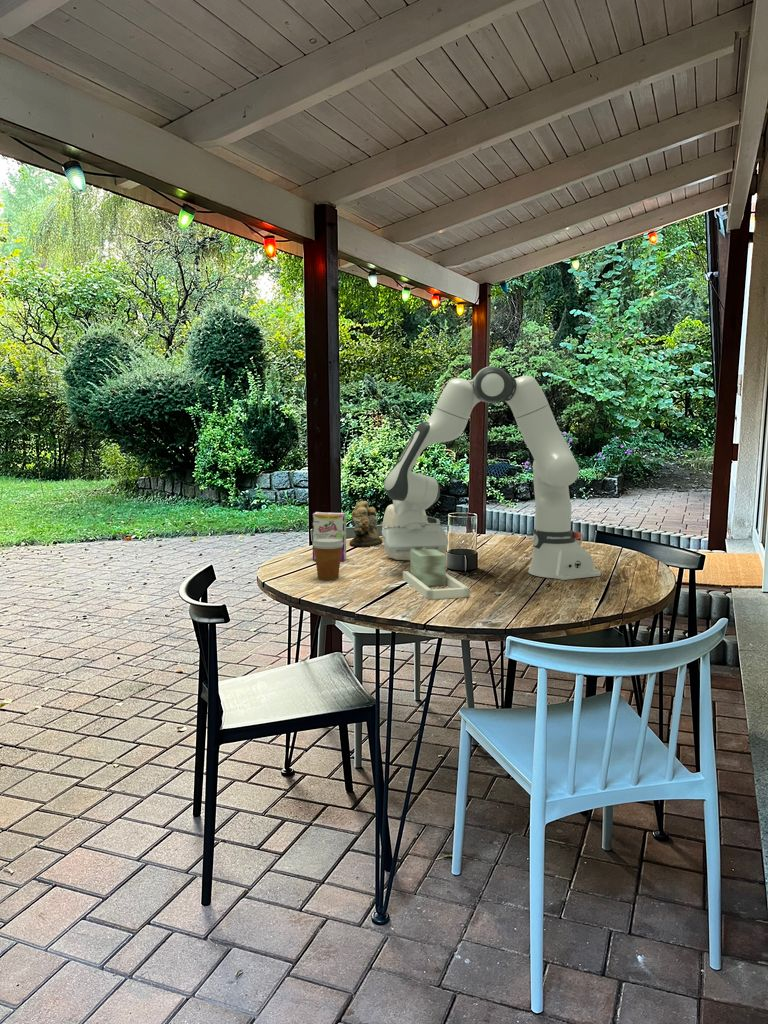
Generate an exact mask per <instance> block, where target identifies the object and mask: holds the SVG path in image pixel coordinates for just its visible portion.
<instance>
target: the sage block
mask: <svg viewBox="0 0 768 1024" xmlns="http://www.w3.org/2000/svg"><path fill="white" fill-rule="evenodd" d="M409 562H410V566H409V567H410V568H409V573H411V574H412V575H413V576H414V577H416V578H417V579H418V580H420V581H421V582H422V583H424V584H425V585H426V586H427V587H436V586H446V585H447V584H446V573H447V554H445V553H443V551H438V550H436V549H424V550H410V560H409Z"/></svg>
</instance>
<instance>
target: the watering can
mask: <svg viewBox="0 0 768 1024" xmlns="http://www.w3.org/2000/svg"><path fill="white" fill-rule="evenodd" d="M423 515H426V516H427V513H426V510H423ZM387 526H389V527H392V526H398V524H397V514H396V513H395V510H394V506H393V503H391V504H389V505H387V507H386V508H385V511H384V515H383V520H382V527H381V528H382V529H383V528H385V527H387ZM385 552H386V551H385ZM386 556H387V558H389V559H392V560H396V561H410V553H409V552H406V553H387V552H386Z"/></svg>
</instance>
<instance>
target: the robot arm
mask: <svg viewBox="0 0 768 1024" xmlns="http://www.w3.org/2000/svg"><path fill="white" fill-rule="evenodd" d="M480 402H484V403H488V404H496V403H503V402H505V403H506V404H508V406H509V408H510V410H511V412H512V414H513V417H514V419H515V422H516V424H517V426H518V429H519V432H520V434H521V437H522V439H523V441H524V444H525V445H526V446H527V448H528V450H529V452H530V454H531V456H532V458H533V463H532V475H533V490H534V491H533V492H534V502H535V507H534V508H535V511H534V512H535V513H534V514H535V515H534V528H533V533H532V547H533V549H532V555H531V561H530V565H529V568H528V571H527V573H528V574H530V575H532V576H536V577H540V578H546V579H547V578H548V579H555V580H556V579H557V580H562V581H565V580H567V581H568V580H575V579H585V578H590V577H591V578H592V577H600V576H601V573H602V572H601V571H600V570H599V569H597V568H595V566H594V559H593V556H592V554H591V553H590V552H589V551H587V550H586V549H585V548H584V547H582V545H580V544H579V543H578V542H576V539H577V540H579V539H581V538H582V537H583V534H582V532H580V531H574V530H572V529H571V528H572V527H571V526H572V507H573V505H572V503H571V502H572V501H571V498H570V489H569V486H571V485H572V484H573V483H575V482H576V480H577V479H578V477H579V473H580V466H579V464H578V461H577V460H576V459H575V457H574V455H573V452H572V450H571V449H570V446H569V445H568V443H567V441H566V439H565V437H564V435H563V434H562V432H561V430H560V428H559V426H558V424H557V421H556V419H555V415H554V414H553V411H552V409H551V407H550V406H551V405H550V404H549V402H548V398H547V397H546V395H545V393H544V391H543V389H542V387H541V386H540V384H539V382H538V381H537V380H536V378H535V377H533V376H531V375H522V376H517V377H516V378H514V377H513V376H512V375H511V374H509V373H508V372H507V371H506V370H504V369H502V368H500V367H497V366H495V365H494V366H493V365H492V366H491V365H489V366H486V367H484V368H482V369H480V370H479V371H478V372H477V373H476V375H474V376H473V377H472V378H471V379H469V380H468V379H465V378H460V377H459V378H457V377H456V378H452V379H450V380H449V381H448V382H447V384H446V385H445V386H444V388H443V390H442V392H441V394H440V396H439V397H438V400H437V403H436V405H435V408H434V410H433V411H432V413H431V415H430V416H429V417H428V418H427V419H426V420H425V421H423V422H421V423H419V424H418V425H417V427H416V428H415V429H414V431H413V433H412V435H411V436H410V438H409V439H408V441H407V443H406V445H405V447H404V448H403V450H402V452H401V454H400V455H399V457H398V459H397V461H396V462H395V464H394V466H393V467H392V469H390V470H389V472H388V473H387V475H386V477H385V479H384V483H383V487H384V491H385V493H386V495H387V496H388V498H389V499H390V500H392V504H393V506H394V510H395V513H396V514H397V524H398V526H392V527H389V526H387V527H385V528H383V529H382V530H381V536H382V538H383V542H384V543H383V544H384V545H383V547H384V551H385V552H387V553H406V552H409V553H410V550H424V549H436V550H438V551H440V552H444V551H446V550H447V548H448V545H449V541H448V537H447V533H446V531H445V530H444V528H443V527H442V526H441V525H440V524H441V520H440V519H439V518H436V517H433V516H428V515H427V514H426V515H423V510H425V511H426V510H428V509H429V508H431V507H432V506H433V505H434V504H435V503H437V501H438V500H439V499H440V495H441V487H440V484H439V481H438V480H437V479H436V478H435V477H432V476H429V475H426V474H420V473H418V472H413V471H412V470H413V468H414V467H415V465H416V463H417V462H418V459H419V457H420V456H421V454H422V453H423V451H424V450H425V449H426V448H427V447H429V446H431V445H434V444H438V443H447V442H451V441H454V440H456V439H458V438H459V437H461V435H462V434H463V433H464V431H465V429H466V427H467V424H468V421H469V420H470V416H471V414H472V411H473V409H474V407H476V406H477V404H478V403H480ZM387 553H386V554H387Z"/></svg>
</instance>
